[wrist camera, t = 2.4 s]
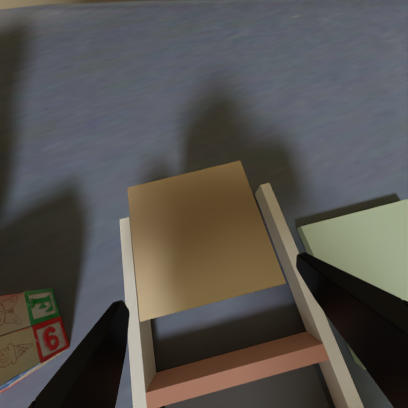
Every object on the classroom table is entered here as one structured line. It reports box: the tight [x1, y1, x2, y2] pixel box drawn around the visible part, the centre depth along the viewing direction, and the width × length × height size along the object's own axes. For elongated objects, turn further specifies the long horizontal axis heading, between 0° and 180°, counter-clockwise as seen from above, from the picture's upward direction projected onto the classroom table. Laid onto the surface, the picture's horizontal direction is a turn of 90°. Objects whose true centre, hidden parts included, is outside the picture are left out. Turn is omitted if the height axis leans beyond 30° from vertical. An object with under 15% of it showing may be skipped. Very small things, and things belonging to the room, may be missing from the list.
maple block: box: [127, 161, 286, 322], centre depth 12 cm, size 5×5×12 cm
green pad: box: [297, 199, 408, 370], centre depth 16 cm, size 12×12×1 cm
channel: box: [120, 183, 364, 408], centre depth 15 cm, size 24×16×2 cm, turn 14°
